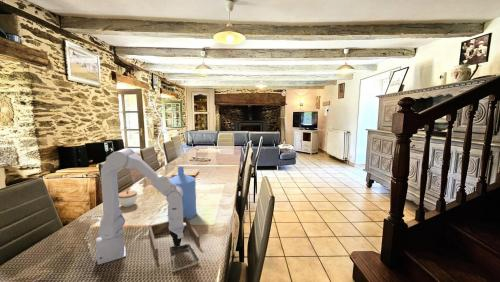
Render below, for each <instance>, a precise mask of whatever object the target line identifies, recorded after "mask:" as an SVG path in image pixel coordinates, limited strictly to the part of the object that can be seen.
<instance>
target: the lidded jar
mask: <svg viewBox="0 0 500 282" xmlns="http://www.w3.org/2000/svg"><path fill="white" fill-rule="evenodd" d="M118 197H119V205H120V206H122V207H123V208H129V207H133V206H134V204H135V203H136V202H137V200H138V192H137V190H125V191H122V192H118Z"/></svg>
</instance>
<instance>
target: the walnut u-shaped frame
mask: <svg viewBox="0 0 500 282" xmlns="http://www.w3.org/2000/svg"><path fill="white" fill-rule="evenodd" d="M183 223H186V226H184V228H185V229H186V230H187V232H188V234H189V235H190V237H191V238H192V240H193V241H194V243H195V245H196V247H201V243H200V237H201V236H200V235H199V233H198V232H197V231H196V229H195V227H194V225H192V223H191V221H190V219H188V218H187V217H183ZM165 232H169V220H167V221H161V222H159V223H154V224H151V225H148V238H149V240H150V244H151V248H152V252H153V255H154V260H156V261H157V260H159V250H158V249H159V248H158V244H157V241H156V238H155V235H157V234H160V233H165Z"/></svg>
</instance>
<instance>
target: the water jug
mask: <svg viewBox="0 0 500 282" xmlns="http://www.w3.org/2000/svg"><path fill="white" fill-rule="evenodd" d="M184 168H185V167H184V166H178V167H177V175H174V176H172V177H171V178H168V180H170V181H171V182H172V183H173V184H174V185H175V184H176V185H177V186H180V187H181V188H182V190H183V195H182V204H183V217H187V218H188V220H191V219H192V218H194V217H195V216H196V215H197V192H196V186H197V185H196V183H197V182H196V178H195V177H194V176H191V175H188V174H185V172H184V171H185V170H184ZM168 206H169V204H167V207H168ZM167 218H168V219H169V211H168V210H167Z"/></svg>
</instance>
